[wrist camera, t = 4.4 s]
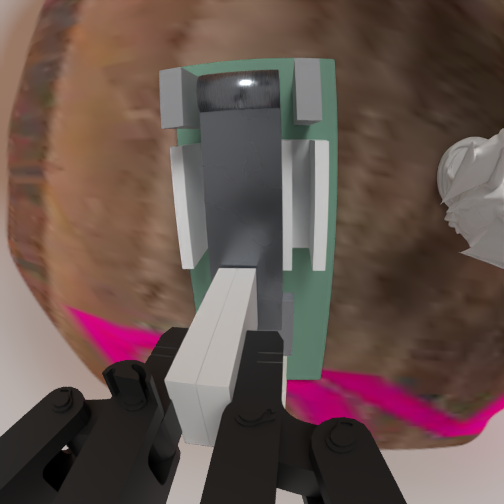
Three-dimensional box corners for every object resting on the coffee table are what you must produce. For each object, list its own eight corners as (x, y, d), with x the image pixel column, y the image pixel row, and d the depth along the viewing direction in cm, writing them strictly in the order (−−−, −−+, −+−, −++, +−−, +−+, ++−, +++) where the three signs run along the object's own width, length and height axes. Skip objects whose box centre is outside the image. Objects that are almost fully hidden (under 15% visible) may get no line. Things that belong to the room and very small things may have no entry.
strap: (196, 81, 11) (183, 72, 10) (291, 75, 11) (291, 64, 9) (214, 336, 15) (206, 357, 14) (291, 338, 15) (291, 361, 13)
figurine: (512, 166, 15) (636, 214, 4) (468, 255, 18) (569, 356, 7) (400, 74, 14) (532, 22, 3) (349, 180, 17) (443, 262, 6)
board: (180, 71, 16) (126, 45, 9) (331, 63, 15) (356, 25, 8) (209, 366, 24) (188, 430, 17) (319, 370, 23) (324, 439, 16)
